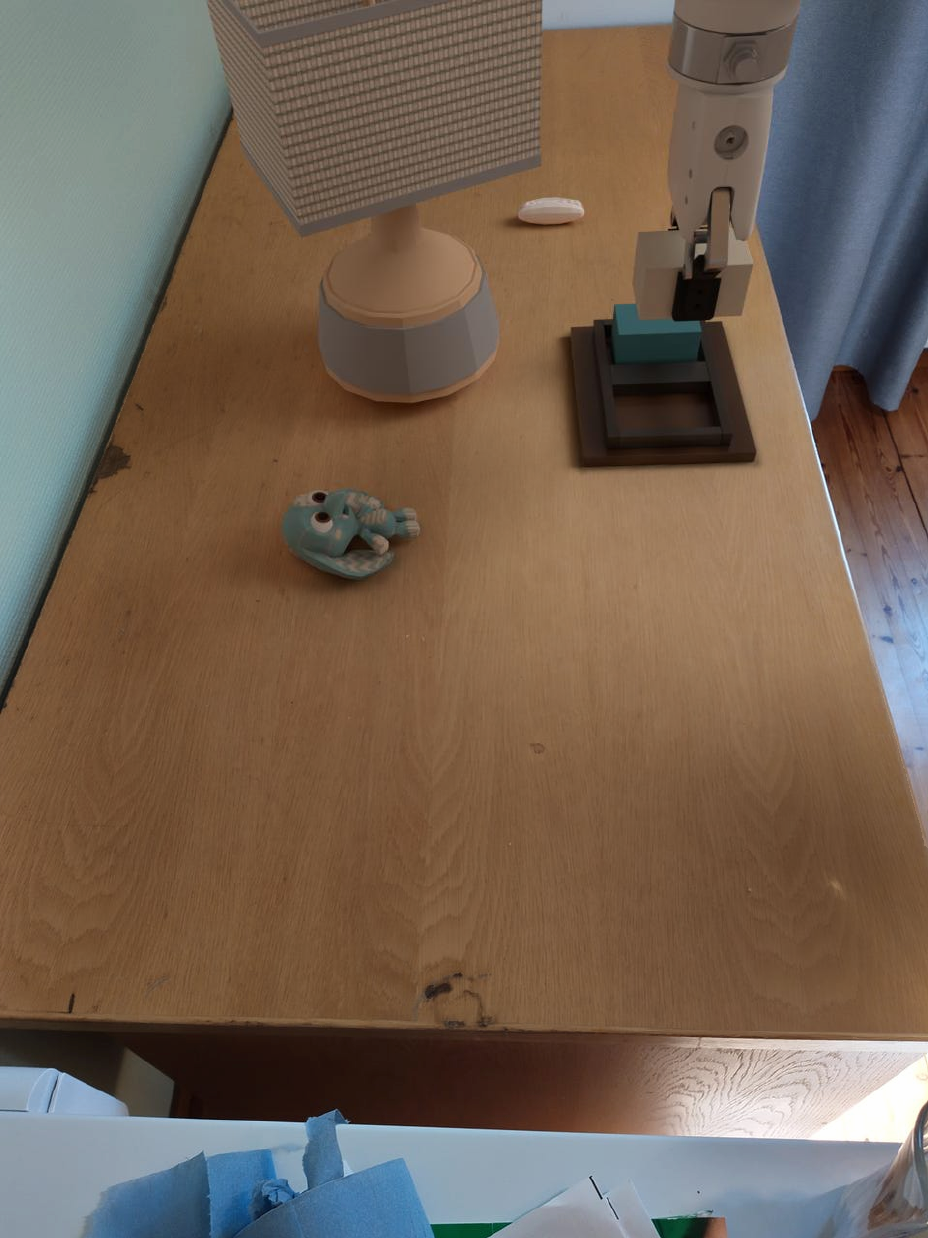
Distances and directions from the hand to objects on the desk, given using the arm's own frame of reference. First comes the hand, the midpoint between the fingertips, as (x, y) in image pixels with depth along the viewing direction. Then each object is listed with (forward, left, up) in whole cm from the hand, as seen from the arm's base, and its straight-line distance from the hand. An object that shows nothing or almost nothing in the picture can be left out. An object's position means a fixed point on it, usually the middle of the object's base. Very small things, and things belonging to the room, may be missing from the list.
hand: (687, 294), depth 71 cm
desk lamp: (+24, -16, -17) cm, 34 cm away
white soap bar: (+8, -42, -17) cm, 46 cm away
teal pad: (-1, -13, -16) cm, 21 cm away
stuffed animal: (+28, +10, -17) cm, 35 cm away
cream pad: (0, 0, 0) cm, 0 cm away
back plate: (-1, -9, -17) cm, 19 cm away
